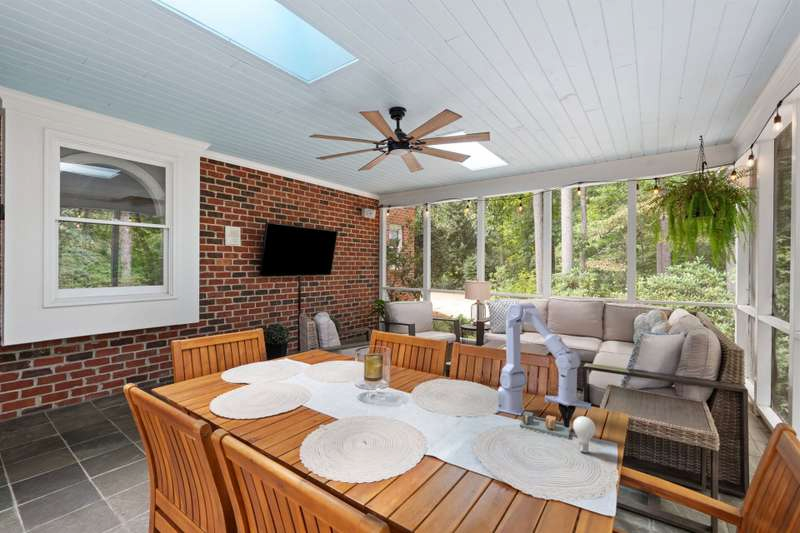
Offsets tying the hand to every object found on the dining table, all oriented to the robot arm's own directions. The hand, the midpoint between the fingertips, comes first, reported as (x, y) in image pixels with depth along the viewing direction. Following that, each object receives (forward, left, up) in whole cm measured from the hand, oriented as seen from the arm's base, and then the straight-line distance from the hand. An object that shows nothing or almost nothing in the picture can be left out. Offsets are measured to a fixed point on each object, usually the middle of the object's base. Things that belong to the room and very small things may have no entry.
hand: (566, 426), depth 126 cm
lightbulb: (+6, -11, -3) cm, 13 cm away
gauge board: (-7, +1, -3) cm, 8 cm away
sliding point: (-5, 0, -1) cm, 5 cm away
